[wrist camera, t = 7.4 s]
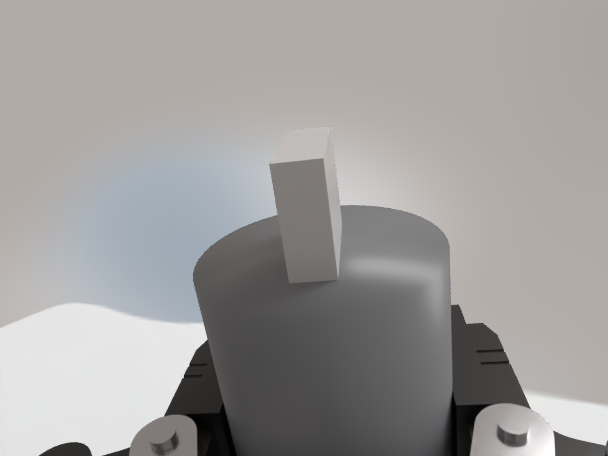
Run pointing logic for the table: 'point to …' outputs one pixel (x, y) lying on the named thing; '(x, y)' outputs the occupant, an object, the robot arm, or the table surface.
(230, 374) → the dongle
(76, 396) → the table surface
